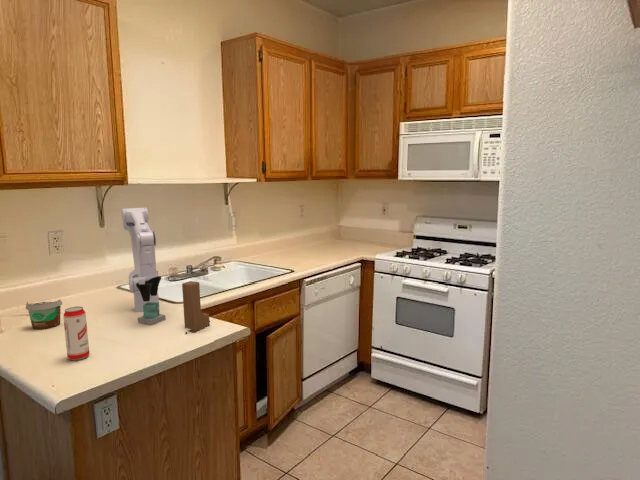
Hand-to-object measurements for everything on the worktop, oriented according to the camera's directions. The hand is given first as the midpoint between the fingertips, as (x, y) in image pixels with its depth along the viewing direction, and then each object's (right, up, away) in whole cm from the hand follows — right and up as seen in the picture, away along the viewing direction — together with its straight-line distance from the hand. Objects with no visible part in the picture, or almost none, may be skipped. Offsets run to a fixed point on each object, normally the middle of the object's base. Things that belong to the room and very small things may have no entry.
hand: (150, 298), depth 173 cm
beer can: (-12, -15, -29) cm, 35 cm away
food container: (-40, -11, -1) cm, 42 cm away
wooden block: (+19, -11, -3) cm, 22 cm away
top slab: (0, -9, +1) cm, 9 cm away
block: (0, -7, +1) cm, 7 cm away
